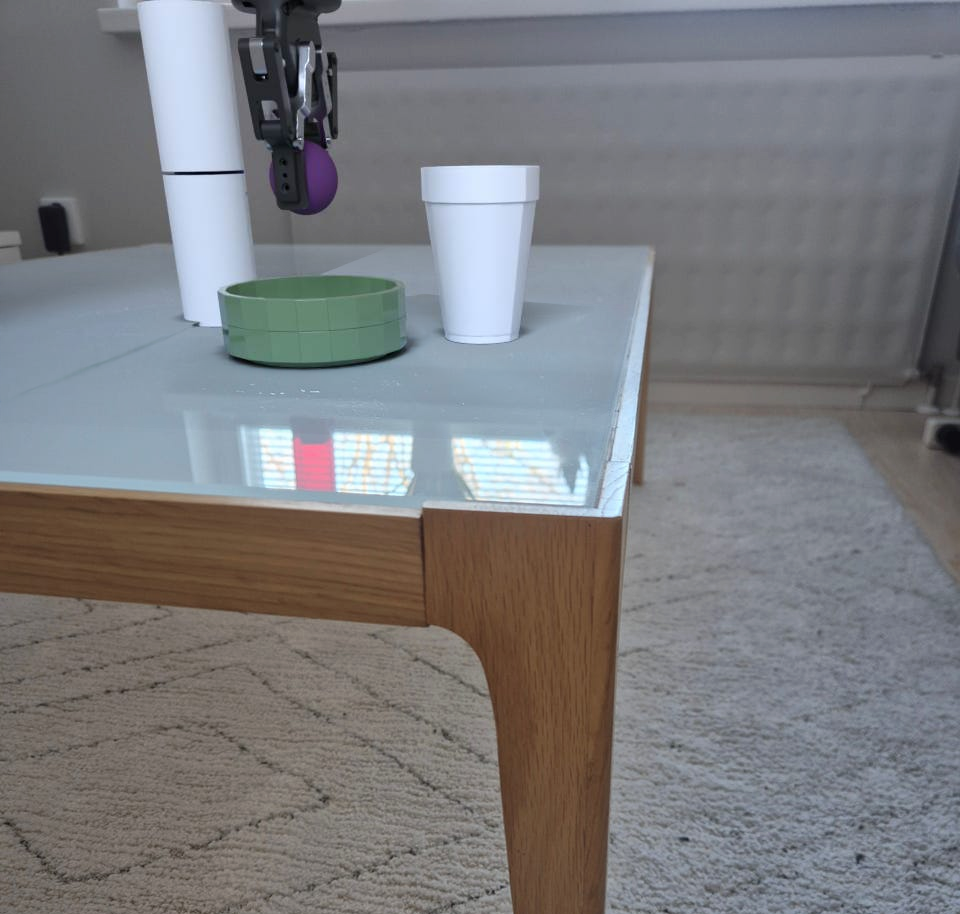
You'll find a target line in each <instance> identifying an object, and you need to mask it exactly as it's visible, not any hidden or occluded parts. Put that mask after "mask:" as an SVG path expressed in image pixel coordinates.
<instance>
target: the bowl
mask: <svg viewBox="0 0 960 914" xmlns="http://www.w3.org/2000/svg"><path fill="white" fill-rule="evenodd" d="M405 287H406V286H405V284H404V283H403V281H401V280H397V279H394V278H390V277H381V276H375V275H357V274H310V275H309V274H308V275H306V274H305V275H290V276H273V277H266V278H257V279H255V280H248V281H243V282H237V283H232V284H229V285H226V286H223V287H220V288H219V290H218V291H217V293H218V301H219V308H220V316H221V321H222V322H221V323H222V327H221V330H222V337H223V345H224V351H225V352H227V353H228V354H229V355H231V356H232V357H236V358H239V359H244V360H247V361H249V362H251V363H254V364H257V365H263V366H270V367H279V368H304V369H305V368H328V367H340V366H348V365H355V364H361V363H366V362H370V361H374V360H378V359H381V358H383V357H385V356H387V355H388V354H389V353H392V352H396V351H399V350H401V349H403V348H404V347H405V346H406V345H407V344H408V330H407V329H408V328H407V315H406V314H407V308H406V307H407V305H406V288H405Z"/></svg>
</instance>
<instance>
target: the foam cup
mask: <svg viewBox="0 0 960 914" xmlns="http://www.w3.org/2000/svg"><path fill="white" fill-rule="evenodd" d="M540 169H541V167H540V165H515V164H513V165H506V164H505V165H503V164H502V165H501V164H500V165H492V164H491V165H490V164H489V165H443V166H441V165H440V166H439V165H438V166H422V167H420V179H421V180H420V181H421V183H420V185H421V186H420V187H421V201H422V202H424V206H425V215H426V221H427V227H428V233H429V240H430V241H429V242H430V247H431V253H432V260H433V267H434V273H435V274H434V275H435V281H436V288H437V294H438V300H439V306H440V311H441V312H440V314H441V320H442V327H443V331H444V338H445V339H446V340H448V341H450V342H453V343H459V344H470V345H471V344H473V345H489V344H492V345H493V344H502V343H508V342H513V341H515V340H518V339H519V336H520V329H521V324H522V316H523V307H524V300H525V293H526V286H527V285H526V283H527V276H528V269H529V261H530V255H531V254H530V253H531V245H532V240H533V239H532V238H533V231H534V222H535V215H536V208H537V201H539V200H540V183H541V181H540V179H541V178H540V174H541V172H540V171H541V170H540Z"/></svg>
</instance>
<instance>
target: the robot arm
mask: <svg viewBox="0 0 960 914" xmlns="http://www.w3.org/2000/svg"><path fill="white" fill-rule="evenodd" d="M342 2H343V0H230V3H231V5H232V6H233V8H234V9H235V10H237V11H239V12H241V13H245V14H249V15H255V32H254V34H255V35H254V36H250V37H239V38H238V40H237V52H238V57H239V63H240V67H241V71H242V77H243V82H244V87H245V92H246V97H247V102H248V108H249V113H250V118H251V123H252V124H251V125H252V128H253V129H252V130H253V133H254V137H255V139H256V141H261V142H262V141H264V145H265V148H266V150H267V151H269V152H270V151H272V152H270V154H271V161H272V164H273V174H274V183H275V192H276V197H275V199H276V206H277V208H278V209H280V210H281V211H289V210H303V209H306V208H307V207H308V205H309V197H308V186H307V175H306V164H305V153H304V152H298V150H302V149H303V146H304V140H307V141H311V142H314V143H316V144H318V145H319V146H321V147H322V148H323V149H324V150H325V151H326V152H327V153H328V154H329V155H330V153H329V150H331V149H332V144H333V140H337V139H338V136H339V108H338V106H339V105H338V101H339V99H338V93H339V92H338V63H339V60H338V58H337V54H336V52H335V51H327V49H326V45H325V44H324V43H323V41H322V38H321V36H322V35H321V32H320V26H319V23H318V22H319V16H320V15H321V14H326V15H327V14H331V13H334V12H336V11H338V10H339V9H340V8H341V6H342ZM314 120H316V121H314Z"/></svg>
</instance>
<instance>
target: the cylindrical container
mask: <svg viewBox="0 0 960 914" xmlns="http://www.w3.org/2000/svg"><path fill="white" fill-rule="evenodd" d="M136 11H137V19H138V24H139V30H140V37H141V44H142V50H143V57H144V63H145V70H146V76H147V84H148V89H149V96H150V102H151V109H152V116H153V121H154V128H155V135H156V142H157V149H158V156H159V161H160V162H159V163H160V169H161V172H170V173H166V174H162V181H163V187H164V188H163V189H164V194H165V200H166V208H167V214H168V220H169V221H168V222H169V227H170V233H171V234H170V235H171V240H172V247H173V253H174V260H175V267H176V273H177V280H178V287H179V293H180V294H179V295H180V298H181V300H180V301H181V307H182V313H183V318H184V320H186V321H190V322H196V323H193V324H191V326H192V327H202V328H203V327H205V328H219V327H221V328H222V323H221V322H222V321H221V316H220V308H219V301H218V293H217V291H218V290H219V288H220V287H223V286H226V285H229V284H232V283H237V282H243V281H248V280H255V279H258V273H257V265H256V255H255V249H254V237H253V232H252V222H251V213H250V204H249V195H248V194H246V193H247V192H248V187H247V178H246V170H245V161H244V152H243V145H242V144H243V143H242V135H241V126H240V117H239V108H238V99H237V91H236V84H235V73H234V67H233V57H232V48H231V40H230V32H229V22H228V15H227V5H225V4H223V3H221V2H214V1H207V0H206V1H205V0H145V1H140V2H137V3H136ZM172 172H173V173H172Z"/></svg>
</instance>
